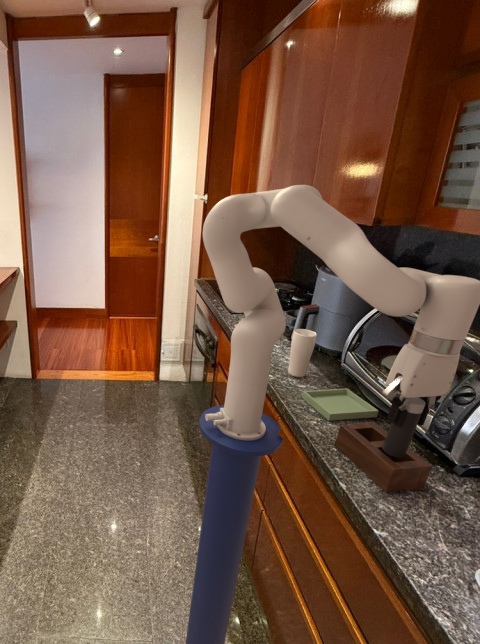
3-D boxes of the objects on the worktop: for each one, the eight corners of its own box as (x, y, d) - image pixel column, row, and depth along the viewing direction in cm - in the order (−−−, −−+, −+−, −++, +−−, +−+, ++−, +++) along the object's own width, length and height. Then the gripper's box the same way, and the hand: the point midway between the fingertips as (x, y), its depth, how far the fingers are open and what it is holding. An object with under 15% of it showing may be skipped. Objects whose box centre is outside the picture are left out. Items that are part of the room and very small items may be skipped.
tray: (328, 420, 104) (330, 414, 103) (301, 397, 115) (302, 391, 115) (376, 417, 106) (378, 410, 105) (345, 394, 117) (346, 388, 116)
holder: (385, 492, 81) (393, 469, 78) (334, 444, 95) (340, 424, 93) (423, 488, 81) (432, 466, 79) (367, 442, 96) (374, 421, 94)
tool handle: (392, 458, 81) (412, 405, 76) (377, 446, 85) (395, 395, 79) (409, 457, 81) (430, 404, 76) (394, 444, 85) (413, 394, 80)
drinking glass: (311, 378, 126) (321, 336, 120) (290, 379, 126) (300, 336, 120) (301, 369, 132) (310, 328, 126) (281, 369, 132) (289, 328, 126)
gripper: (455, 332, 77) (424, 409, 84) (379, 335, 75) (354, 414, 83) (495, 348, 70) (457, 430, 77) (412, 351, 69) (381, 436, 76)
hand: (404, 421), depth 80 cm, fingers closed on tool handle, 4 cm apart
